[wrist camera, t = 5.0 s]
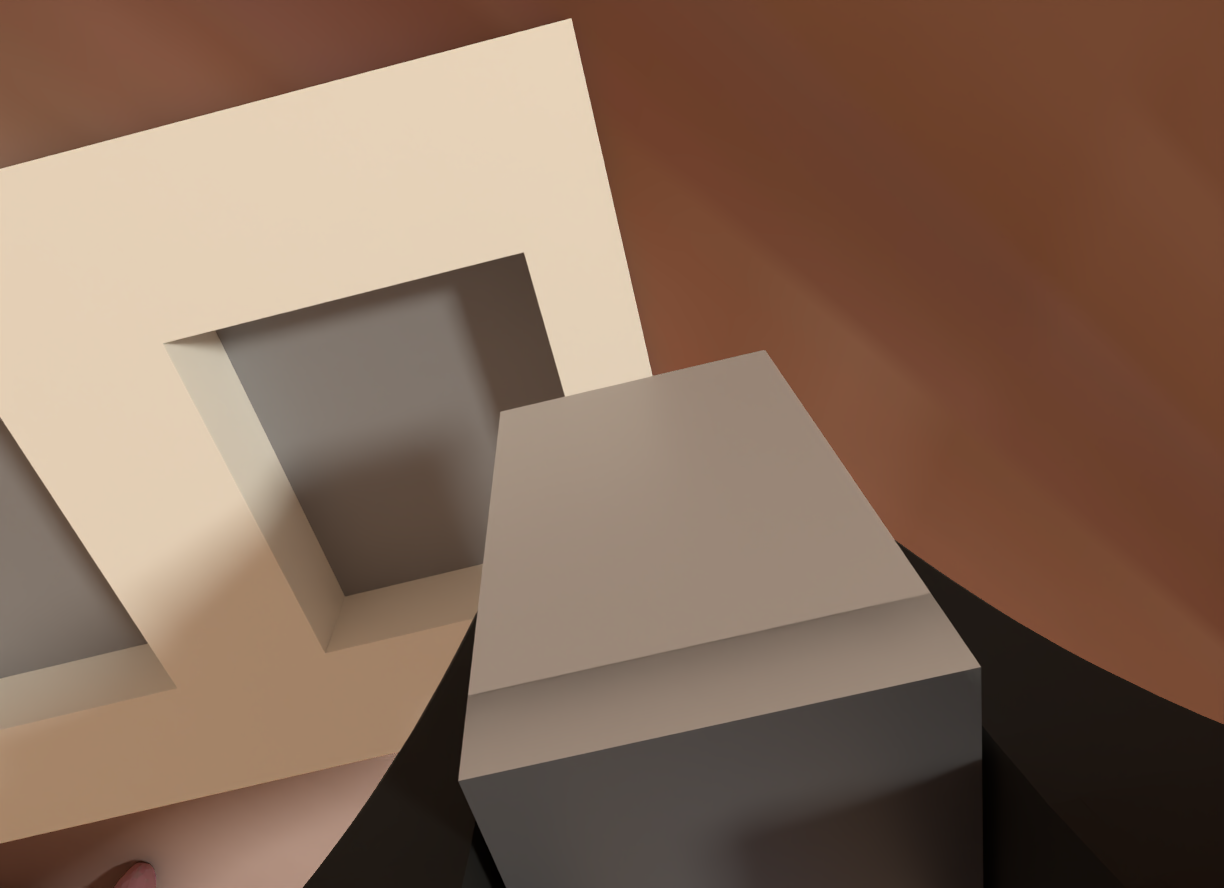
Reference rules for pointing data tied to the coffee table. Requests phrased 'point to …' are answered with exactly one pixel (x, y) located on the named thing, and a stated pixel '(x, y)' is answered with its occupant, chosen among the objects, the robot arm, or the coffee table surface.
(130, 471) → the faceplate
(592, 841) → the plug
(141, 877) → the video game controller
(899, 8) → the coffee table surface
